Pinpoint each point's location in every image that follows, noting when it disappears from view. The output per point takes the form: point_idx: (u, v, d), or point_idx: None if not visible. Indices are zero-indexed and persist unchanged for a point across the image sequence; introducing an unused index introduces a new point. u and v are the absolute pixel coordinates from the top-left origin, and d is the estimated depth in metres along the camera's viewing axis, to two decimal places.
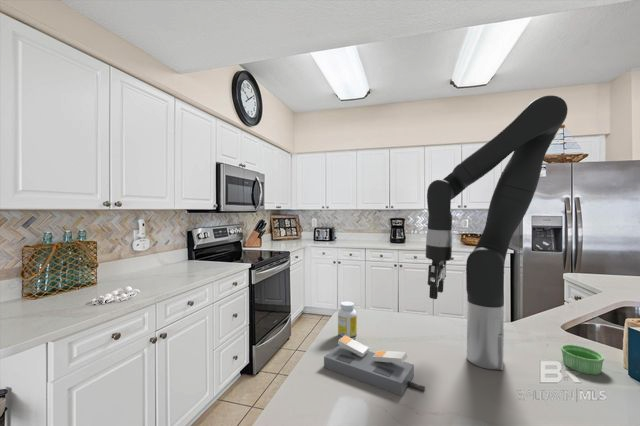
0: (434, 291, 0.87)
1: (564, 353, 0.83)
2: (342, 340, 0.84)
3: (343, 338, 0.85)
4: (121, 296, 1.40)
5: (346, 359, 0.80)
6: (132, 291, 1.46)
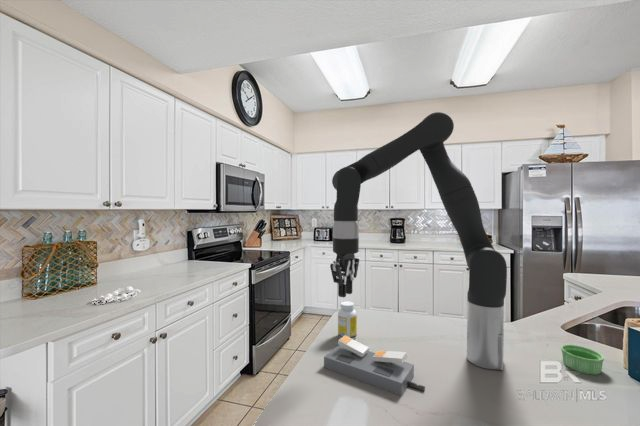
0: (341, 289, 0.82)
1: (564, 353, 0.83)
2: (342, 340, 0.84)
3: (343, 338, 0.85)
4: (121, 296, 1.40)
5: (346, 359, 0.80)
6: (133, 291, 1.46)
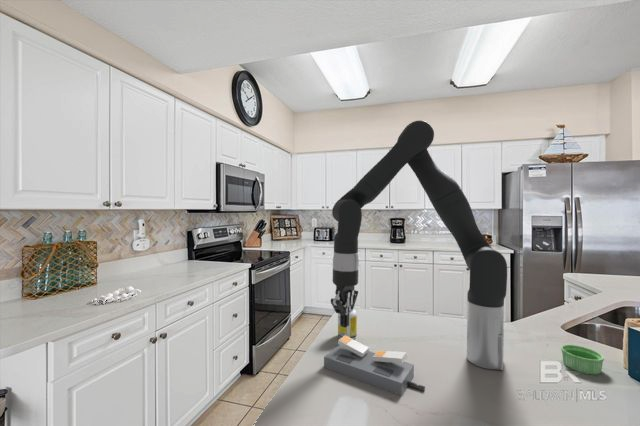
0: (343, 319, 0.84)
1: (564, 353, 0.83)
2: (342, 340, 0.84)
3: (343, 338, 0.85)
4: (122, 296, 1.40)
5: (346, 359, 0.80)
6: (133, 291, 1.46)
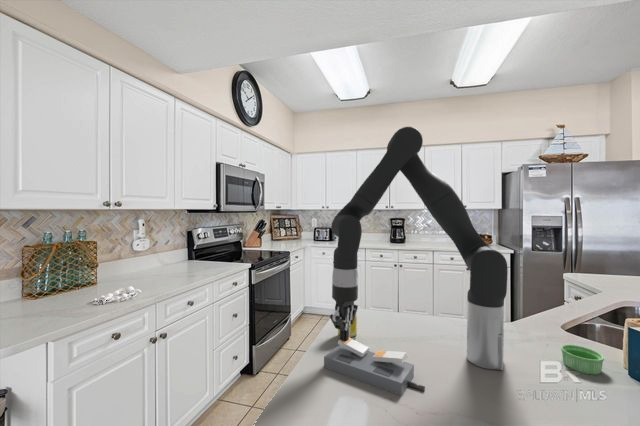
0: (343, 335, 0.84)
1: (564, 353, 0.83)
2: (342, 340, 0.84)
3: None
4: (122, 296, 1.40)
5: (346, 359, 0.80)
6: (133, 291, 1.46)
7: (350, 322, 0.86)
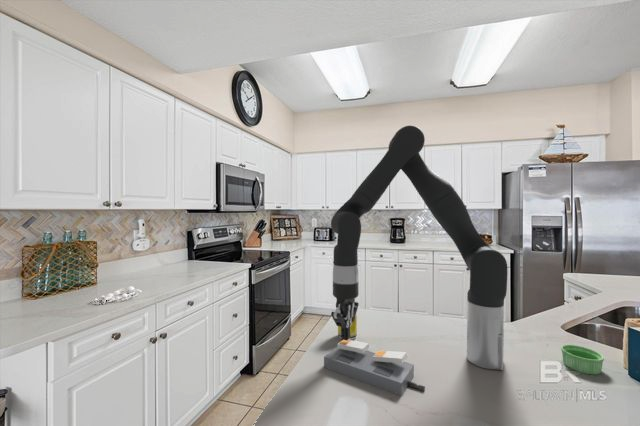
0: (344, 332, 0.84)
1: (564, 353, 0.83)
2: (341, 343, 0.84)
3: (342, 341, 0.86)
4: (122, 296, 1.40)
5: (346, 359, 0.80)
6: (134, 291, 1.46)
7: (351, 319, 0.86)
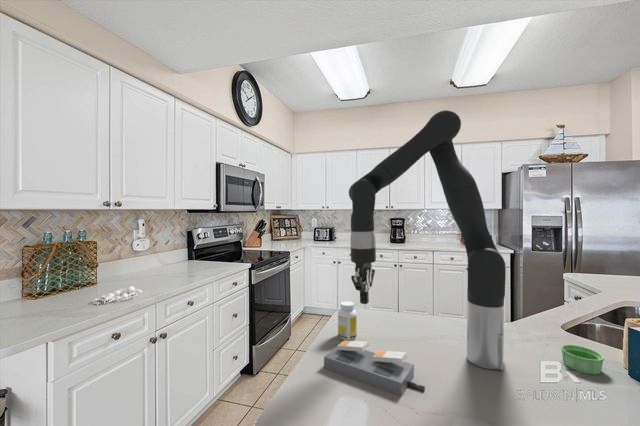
0: (363, 296, 0.87)
1: (564, 353, 0.83)
2: (341, 344, 0.85)
3: (342, 342, 0.86)
4: (122, 296, 1.40)
5: (346, 359, 0.80)
6: (134, 291, 1.46)
7: (369, 284, 0.89)
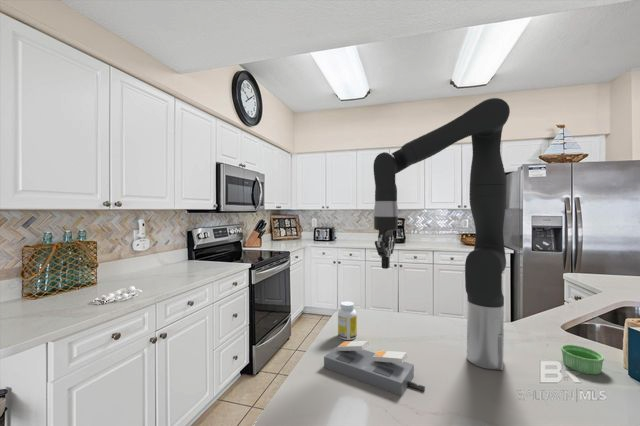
0: (385, 261, 0.93)
1: (564, 353, 0.83)
2: (341, 345, 0.84)
3: (342, 343, 0.86)
4: (123, 296, 1.40)
5: (346, 359, 0.80)
6: (134, 291, 1.46)
7: (390, 251, 0.95)
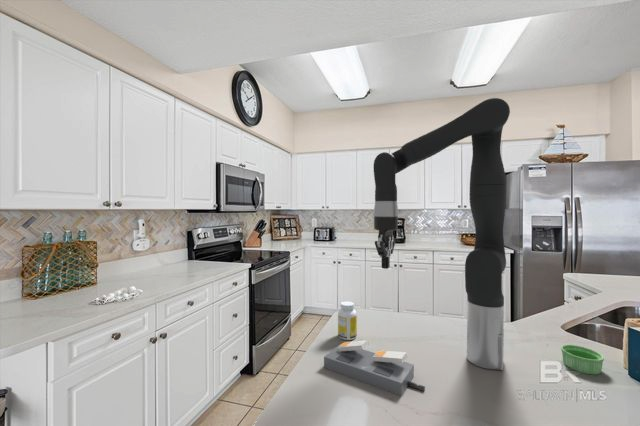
0: (385, 261, 0.93)
1: (564, 353, 0.83)
2: (341, 345, 0.84)
3: (342, 344, 0.86)
4: (123, 296, 1.40)
5: (346, 359, 0.80)
6: (135, 291, 1.46)
7: (390, 251, 0.95)
